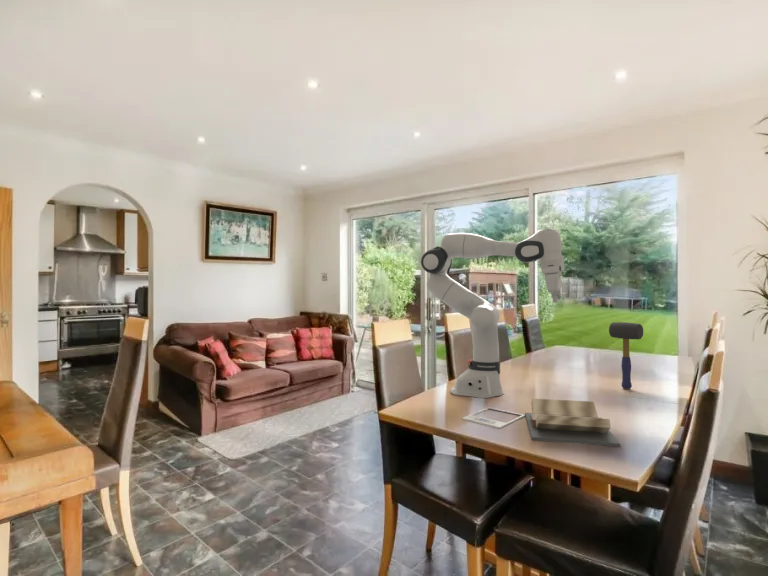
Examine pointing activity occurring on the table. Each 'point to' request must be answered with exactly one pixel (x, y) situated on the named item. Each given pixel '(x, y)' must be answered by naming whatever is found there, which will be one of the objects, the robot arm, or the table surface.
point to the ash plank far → (564, 407)
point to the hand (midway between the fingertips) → (556, 300)
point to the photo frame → (488, 421)
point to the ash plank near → (573, 423)
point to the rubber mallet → (626, 346)
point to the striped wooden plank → (534, 416)
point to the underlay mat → (571, 435)
